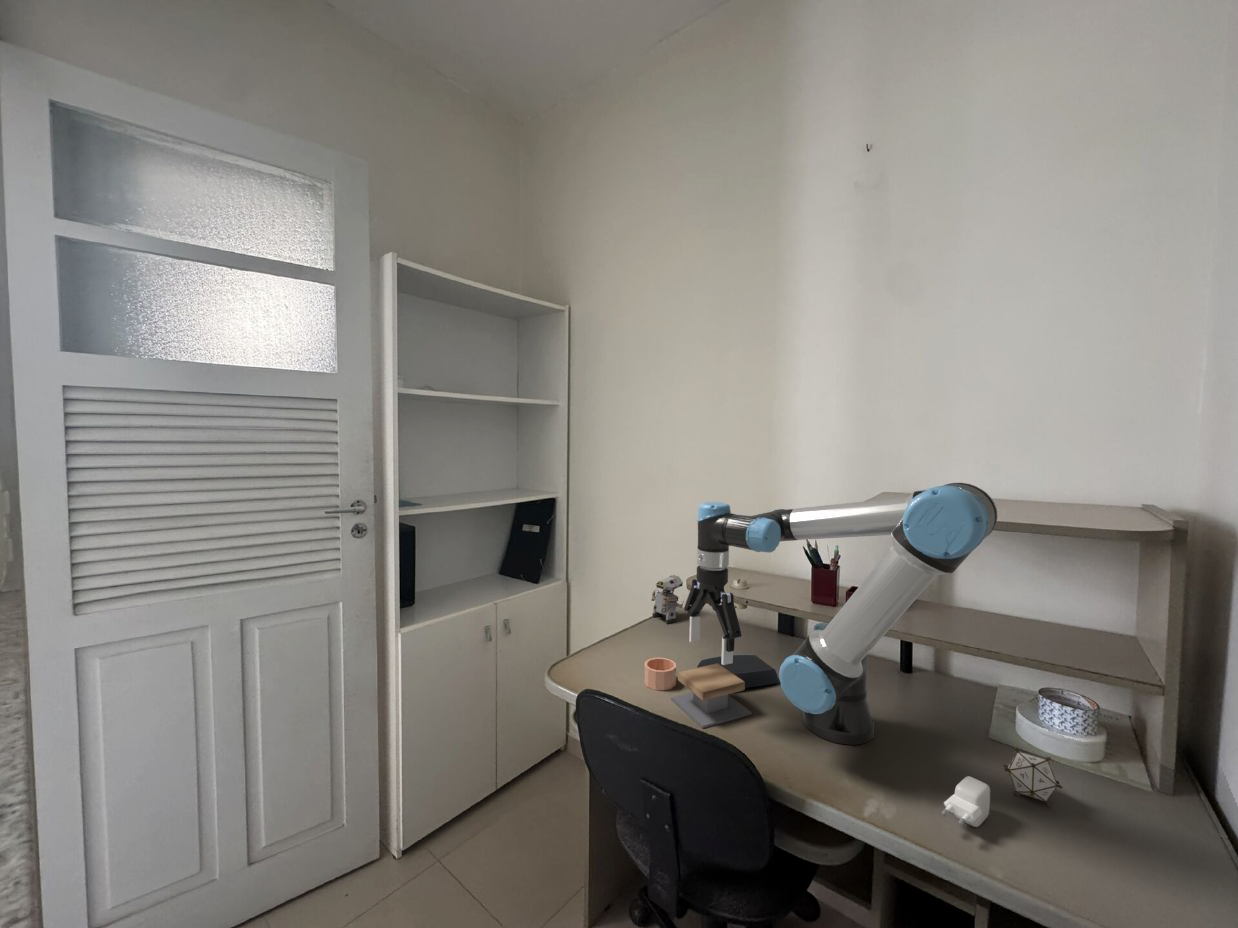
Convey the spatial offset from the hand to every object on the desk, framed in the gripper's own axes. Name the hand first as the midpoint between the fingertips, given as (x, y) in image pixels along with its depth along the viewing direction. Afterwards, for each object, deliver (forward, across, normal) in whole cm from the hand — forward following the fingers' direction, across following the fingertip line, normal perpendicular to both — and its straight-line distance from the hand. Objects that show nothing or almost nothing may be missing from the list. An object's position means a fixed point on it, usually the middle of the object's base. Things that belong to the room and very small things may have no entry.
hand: (710, 651), depth 126 cm
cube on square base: (+14, 0, 0) cm, 14 cm away
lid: (+8, 0, 0) cm, 8 cm away
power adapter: (+13, +50, +18) cm, 55 cm away
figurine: (+14, -56, +22) cm, 62 cm away
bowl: (+14, -16, -5) cm, 21 cm away
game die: (+13, +52, +36) cm, 64 cm away
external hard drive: (+14, -9, +15) cm, 22 cm away
